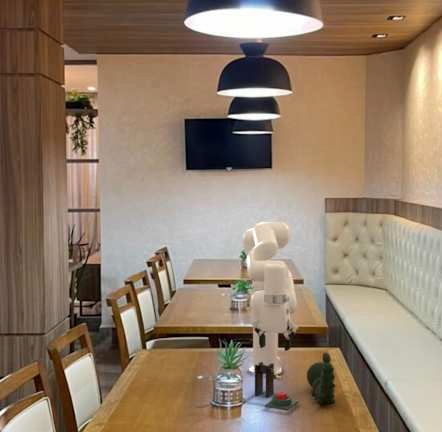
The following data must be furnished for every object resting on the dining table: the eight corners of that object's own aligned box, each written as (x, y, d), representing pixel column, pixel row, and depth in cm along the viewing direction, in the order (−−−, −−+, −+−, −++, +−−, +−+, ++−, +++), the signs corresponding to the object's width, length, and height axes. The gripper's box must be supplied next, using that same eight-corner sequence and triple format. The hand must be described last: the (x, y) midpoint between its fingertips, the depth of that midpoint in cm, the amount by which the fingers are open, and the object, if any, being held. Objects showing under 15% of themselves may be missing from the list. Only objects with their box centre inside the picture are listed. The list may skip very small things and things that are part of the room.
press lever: (268, 380, 232) (269, 373, 233) (281, 382, 230) (282, 375, 231) (255, 371, 223) (256, 364, 223) (268, 372, 220) (270, 365, 221)
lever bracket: (259, 392, 231) (259, 358, 230) (283, 395, 227) (283, 361, 226) (244, 402, 220) (244, 367, 219) (269, 406, 216) (269, 370, 216)
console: (276, 402, 220) (276, 391, 220) (298, 405, 217) (298, 395, 216) (264, 410, 212) (264, 399, 212) (287, 414, 208) (287, 403, 208)
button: (279, 396, 216) (279, 391, 216) (288, 398, 215) (288, 392, 215) (275, 399, 213) (275, 394, 213) (284, 400, 212) (284, 395, 212)
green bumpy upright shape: (342, 415, 212) (330, 385, 237) (343, 359, 210) (331, 334, 234) (312, 416, 212) (304, 385, 237) (313, 359, 209) (304, 334, 234)
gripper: (302, 299, 229) (302, 348, 230) (257, 295, 237) (257, 343, 238) (294, 303, 223) (293, 353, 223) (247, 299, 230) (247, 348, 231)
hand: (274, 348), depth 231 cm, fingers open, 9 cm apart
